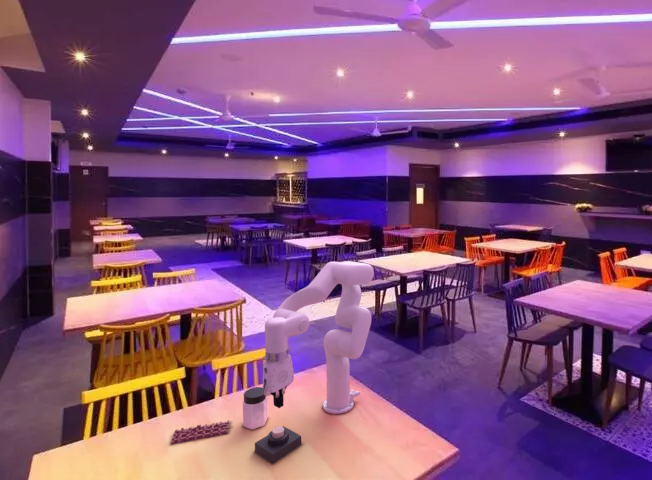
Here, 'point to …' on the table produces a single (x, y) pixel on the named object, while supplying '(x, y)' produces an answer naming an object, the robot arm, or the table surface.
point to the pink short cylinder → (278, 432)
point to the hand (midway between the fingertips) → (278, 405)
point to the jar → (254, 408)
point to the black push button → (277, 445)
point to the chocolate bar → (200, 432)
